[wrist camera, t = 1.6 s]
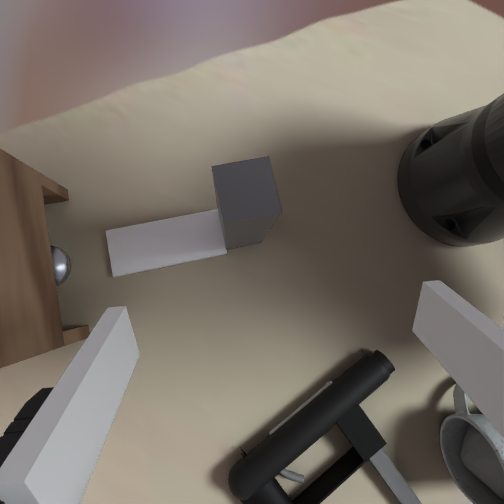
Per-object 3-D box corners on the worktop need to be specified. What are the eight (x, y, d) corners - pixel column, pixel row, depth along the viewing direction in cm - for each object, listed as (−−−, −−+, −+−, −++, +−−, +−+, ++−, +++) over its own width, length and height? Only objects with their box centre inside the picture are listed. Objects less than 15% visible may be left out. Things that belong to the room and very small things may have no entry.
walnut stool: (68, 187, 31) (-38, 120, 19) (92, 338, 30) (-8, 374, 17) (6, 198, 31) (-147, 136, 18) (26, 353, 29) (-128, 402, 16)
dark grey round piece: (69, 243, 31) (63, 241, 30) (74, 284, 30) (68, 283, 29) (26, 250, 30) (18, 249, 29) (30, 291, 30) (22, 291, 29)
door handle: (471, 472, 29) (378, 343, 29) (318, 621, 26) (215, 479, 26) (445, 452, 32) (362, 335, 32) (307, 582, 30) (215, 456, 29)
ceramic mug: (513, 474, 31) (604, 532, 24) (441, 478, 30) (512, 540, 23) (500, 372, 33) (582, 395, 25) (432, 374, 32) (495, 399, 24)
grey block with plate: (252, 204, 33) (267, 149, 20) (261, 246, 32) (283, 218, 19) (108, 231, 31) (22, 191, 18) (115, 277, 30) (33, 269, 18)
